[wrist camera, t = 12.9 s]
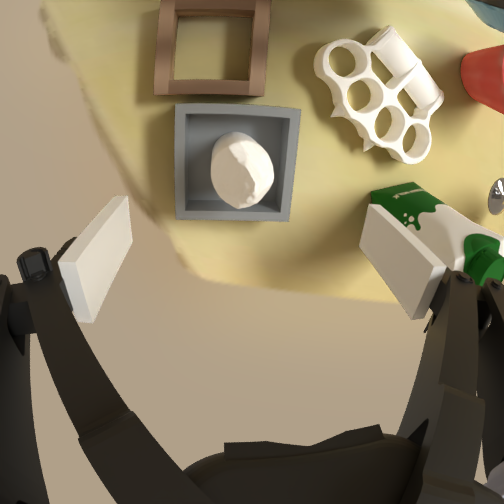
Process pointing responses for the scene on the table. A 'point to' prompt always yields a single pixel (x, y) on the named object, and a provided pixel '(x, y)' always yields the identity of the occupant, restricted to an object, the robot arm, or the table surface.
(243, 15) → the holder
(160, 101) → the table surface
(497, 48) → the flower pot
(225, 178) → the white tall rounded piece
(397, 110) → the white brass knuckles
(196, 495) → the robot arm
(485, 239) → the milk carton
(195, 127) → the tray
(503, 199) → the wine glass
